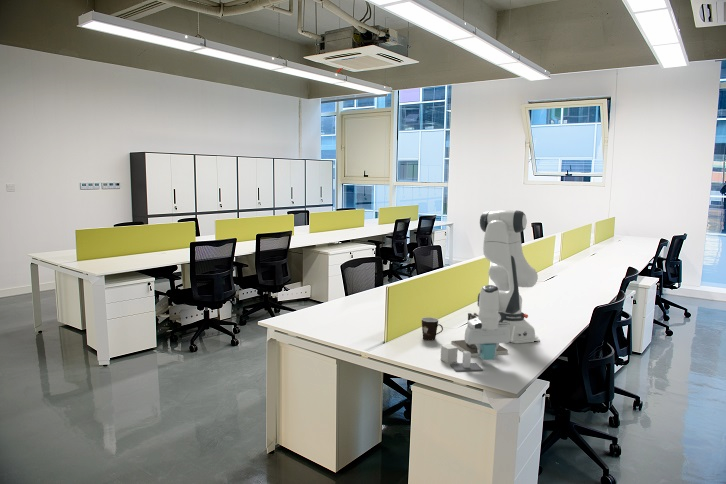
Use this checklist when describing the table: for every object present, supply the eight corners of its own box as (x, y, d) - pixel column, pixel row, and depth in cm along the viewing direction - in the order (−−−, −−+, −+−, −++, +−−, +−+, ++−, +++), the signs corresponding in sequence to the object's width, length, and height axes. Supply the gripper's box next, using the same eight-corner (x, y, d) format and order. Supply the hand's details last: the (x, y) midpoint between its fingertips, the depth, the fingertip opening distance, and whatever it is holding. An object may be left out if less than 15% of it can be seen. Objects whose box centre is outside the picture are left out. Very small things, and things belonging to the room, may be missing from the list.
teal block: (489, 354, 222) (490, 340, 221) (494, 359, 217) (495, 344, 216) (478, 355, 222) (479, 341, 221) (483, 359, 216) (484, 345, 216)
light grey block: (449, 357, 226) (450, 343, 225) (456, 361, 221) (457, 347, 220) (440, 359, 223) (441, 345, 222) (447, 363, 219) (448, 349, 218)
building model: (485, 341, 252) (487, 307, 249) (509, 354, 233) (512, 318, 231) (451, 344, 245) (453, 309, 243) (472, 358, 226) (474, 321, 224)
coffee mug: (417, 336, 256) (418, 317, 254) (432, 335, 259) (433, 316, 257) (428, 343, 245) (429, 324, 244) (443, 342, 248) (444, 322, 247)
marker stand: (476, 364, 219) (476, 348, 218) (482, 370, 211) (483, 355, 210) (450, 364, 217) (450, 349, 216) (455, 371, 209) (456, 355, 208)
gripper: (507, 319, 222) (505, 349, 224) (463, 321, 219) (462, 351, 221) (513, 323, 216) (512, 354, 218) (469, 325, 213) (467, 356, 215)
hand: (486, 352), depth 219 cm, fingers closed on teal block, 5 cm apart
